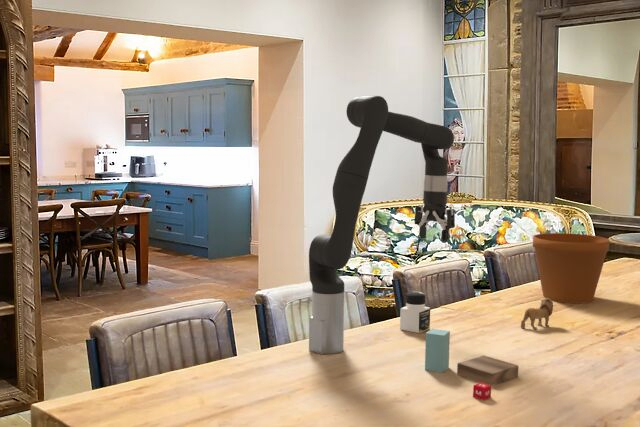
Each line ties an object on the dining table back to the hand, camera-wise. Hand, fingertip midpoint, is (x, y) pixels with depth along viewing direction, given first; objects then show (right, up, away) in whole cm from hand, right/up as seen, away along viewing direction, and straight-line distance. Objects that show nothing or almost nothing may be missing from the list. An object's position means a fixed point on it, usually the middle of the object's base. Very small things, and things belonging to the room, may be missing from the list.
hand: (433, 239), depth 235 cm
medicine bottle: (-6, -29, 0) cm, 30 cm away
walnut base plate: (+7, -34, -45) cm, 57 cm away
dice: (+2, -36, -61) cm, 71 cm away
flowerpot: (+60, -25, +50) cm, 82 cm away
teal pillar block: (-5, -33, -40) cm, 52 cm away
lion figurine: (+35, -29, +5) cm, 45 cm away
